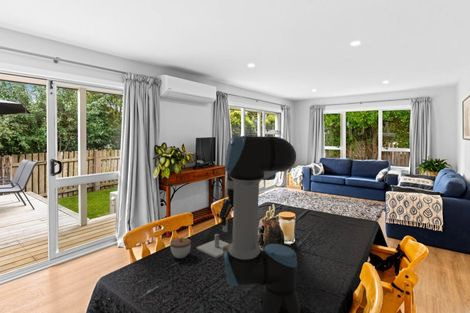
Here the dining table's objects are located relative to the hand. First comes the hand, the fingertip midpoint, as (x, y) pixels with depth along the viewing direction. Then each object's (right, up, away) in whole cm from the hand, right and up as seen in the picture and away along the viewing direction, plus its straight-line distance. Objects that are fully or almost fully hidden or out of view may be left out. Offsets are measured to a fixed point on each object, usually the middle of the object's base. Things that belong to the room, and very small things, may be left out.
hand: (234, 227), depth 138 cm
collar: (0, -16, +1) cm, 16 cm away
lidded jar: (-29, -16, +3) cm, 33 cm away
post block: (-10, -15, +11) cm, 21 cm away
